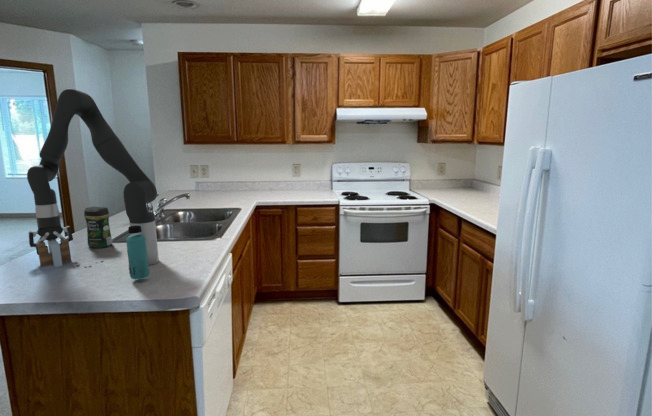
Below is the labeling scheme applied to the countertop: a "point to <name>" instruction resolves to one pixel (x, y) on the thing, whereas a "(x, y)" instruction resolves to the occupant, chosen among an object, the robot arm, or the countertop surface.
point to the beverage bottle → (137, 253)
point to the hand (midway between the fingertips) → (53, 253)
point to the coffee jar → (98, 227)
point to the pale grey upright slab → (55, 252)
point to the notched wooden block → (46, 256)
